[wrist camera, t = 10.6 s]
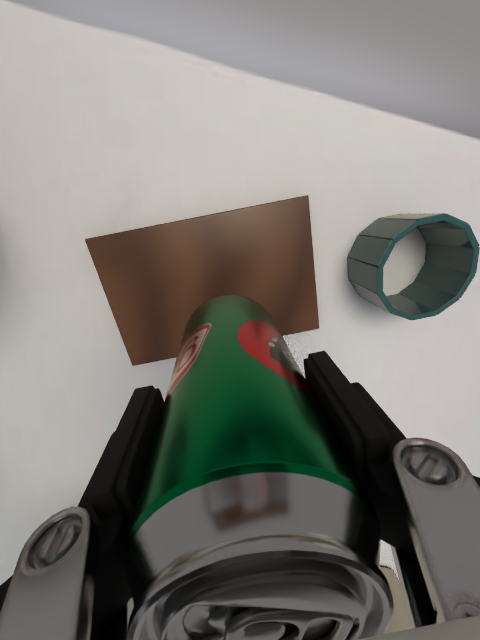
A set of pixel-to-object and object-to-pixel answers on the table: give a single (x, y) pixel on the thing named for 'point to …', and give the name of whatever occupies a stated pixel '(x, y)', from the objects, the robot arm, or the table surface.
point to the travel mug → (396, 604)
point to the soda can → (250, 500)
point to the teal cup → (437, 273)
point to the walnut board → (207, 272)
